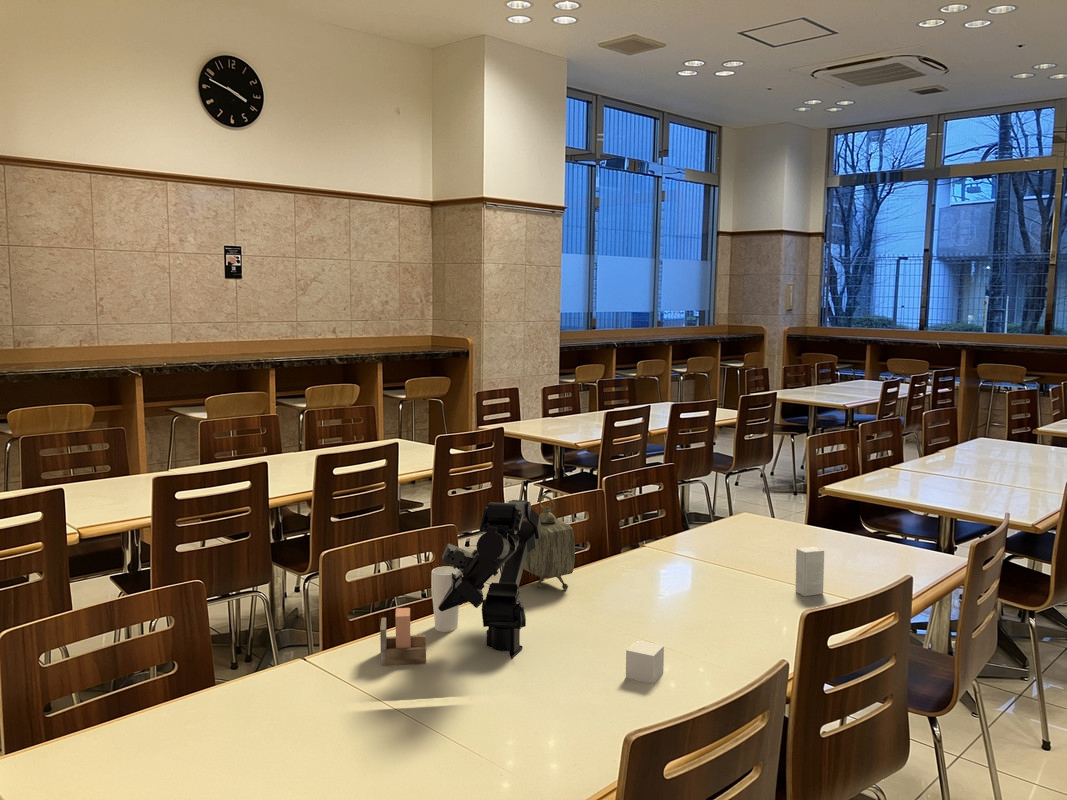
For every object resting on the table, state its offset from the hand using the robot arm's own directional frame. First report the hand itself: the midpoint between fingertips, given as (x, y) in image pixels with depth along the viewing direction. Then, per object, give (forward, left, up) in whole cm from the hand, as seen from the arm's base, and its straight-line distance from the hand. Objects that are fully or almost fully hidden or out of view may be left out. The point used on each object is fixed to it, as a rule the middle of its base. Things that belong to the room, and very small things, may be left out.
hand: (439, 609), depth 188 cm
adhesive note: (-43, -10, -12) cm, 45 cm away
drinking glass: (+6, -15, -12) cm, 20 cm away
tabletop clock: (-3, -55, -12) cm, 56 cm away
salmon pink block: (+7, +4, -10) cm, 13 cm away
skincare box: (-70, -77, -12) cm, 104 cm away
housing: (+6, +4, -11) cm, 14 cm away
